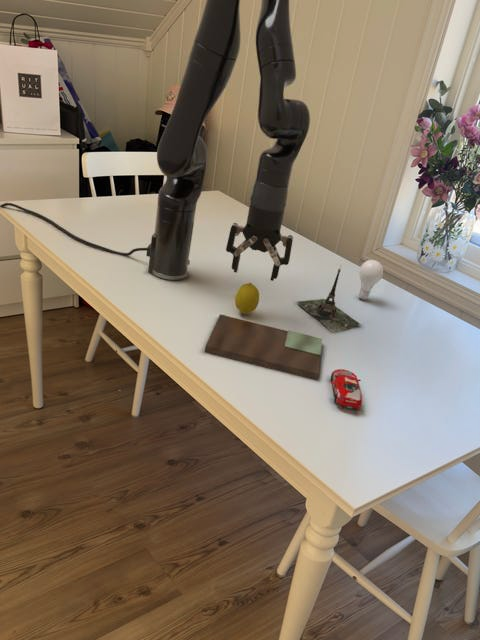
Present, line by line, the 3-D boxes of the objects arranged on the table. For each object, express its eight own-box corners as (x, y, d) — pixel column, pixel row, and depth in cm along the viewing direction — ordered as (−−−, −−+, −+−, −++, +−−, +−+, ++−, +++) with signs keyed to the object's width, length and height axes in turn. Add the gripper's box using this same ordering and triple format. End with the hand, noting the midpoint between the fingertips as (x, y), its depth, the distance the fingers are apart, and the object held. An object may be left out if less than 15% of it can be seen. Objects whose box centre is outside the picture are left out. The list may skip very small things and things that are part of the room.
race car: (328, 375, 127) (333, 359, 125) (353, 380, 127) (359, 363, 125) (333, 410, 116) (339, 393, 114) (360, 415, 117) (366, 398, 114)
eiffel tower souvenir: (361, 327, 149) (379, 276, 142) (332, 332, 144) (348, 280, 136) (323, 300, 158) (338, 251, 151) (294, 303, 153) (307, 253, 145)
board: (204, 352, 125) (205, 345, 124) (218, 319, 138) (220, 313, 137) (316, 380, 124) (318, 373, 123) (320, 345, 137) (322, 338, 136)
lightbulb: (376, 299, 166) (389, 261, 159) (370, 306, 161) (383, 267, 154) (354, 291, 167) (366, 253, 161) (348, 298, 162) (360, 260, 156)
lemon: (253, 322, 140) (260, 290, 136) (230, 316, 141) (236, 284, 136) (257, 312, 145) (264, 281, 140) (235, 306, 145) (241, 275, 140)
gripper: (301, 206, 130) (285, 276, 140) (237, 192, 131) (226, 263, 140) (299, 215, 124) (282, 288, 134) (232, 200, 125) (220, 274, 134)
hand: (253, 275), depth 137 cm, fingers open, 8 cm apart
